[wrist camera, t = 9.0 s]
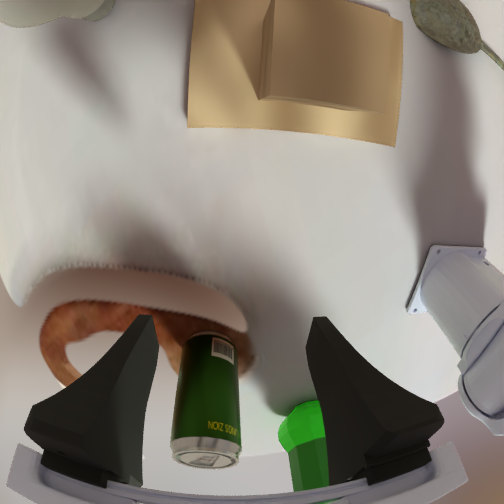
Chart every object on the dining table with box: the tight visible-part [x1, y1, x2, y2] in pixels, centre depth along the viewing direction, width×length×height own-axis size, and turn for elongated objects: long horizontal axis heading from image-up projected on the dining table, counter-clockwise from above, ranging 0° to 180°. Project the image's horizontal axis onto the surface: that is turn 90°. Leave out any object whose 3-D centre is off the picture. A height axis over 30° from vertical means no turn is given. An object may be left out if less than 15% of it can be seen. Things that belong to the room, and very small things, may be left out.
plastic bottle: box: [278, 400, 336, 504], centre depth 23 cm, size 10×10×25 cm
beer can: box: [170, 331, 242, 469], centre depth 21 cm, size 5×5×12 cm
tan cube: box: [258, 0, 390, 114], centre depth 12 cm, size 6×6×6 cm
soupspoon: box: [410, 0, 504, 70], centre depth 13 cm, size 22×3×7 cm
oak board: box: [187, 0, 403, 147], centre depth 14 cm, size 14×10×1 cm
